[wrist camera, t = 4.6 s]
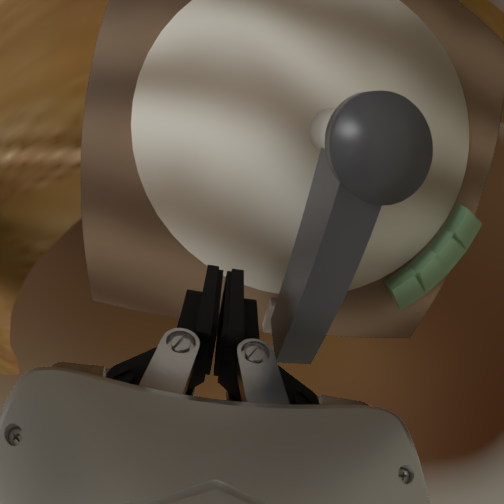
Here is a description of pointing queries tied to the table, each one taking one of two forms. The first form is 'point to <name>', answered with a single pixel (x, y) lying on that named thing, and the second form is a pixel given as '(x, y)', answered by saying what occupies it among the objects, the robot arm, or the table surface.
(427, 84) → the tuner base
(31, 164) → the table surface
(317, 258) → the lever with ball knob
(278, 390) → the robot arm
